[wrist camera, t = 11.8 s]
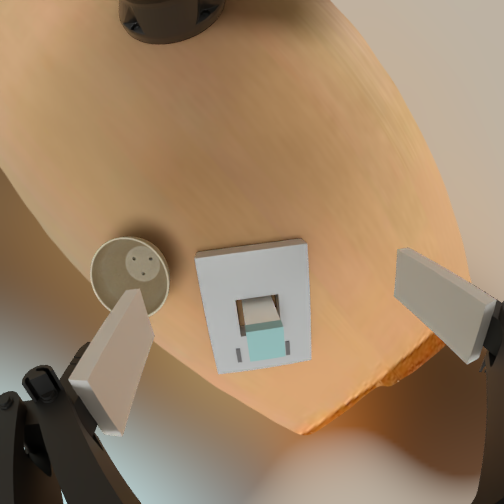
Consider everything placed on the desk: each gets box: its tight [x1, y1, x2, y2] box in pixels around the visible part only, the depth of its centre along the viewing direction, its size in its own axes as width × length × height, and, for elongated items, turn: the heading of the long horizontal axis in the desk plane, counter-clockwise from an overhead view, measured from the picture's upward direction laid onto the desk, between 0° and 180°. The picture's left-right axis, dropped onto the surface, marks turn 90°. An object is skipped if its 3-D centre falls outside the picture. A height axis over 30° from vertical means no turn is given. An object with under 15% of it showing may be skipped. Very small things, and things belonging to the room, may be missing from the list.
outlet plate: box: [195, 238, 311, 374], centre depth 38 cm, size 18×14×3 cm
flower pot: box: [90, 236, 170, 317], centre depth 33 cm, size 10×10×7 cm
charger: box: [241, 295, 286, 362], centre depth 35 cm, size 4×4×10 cm
